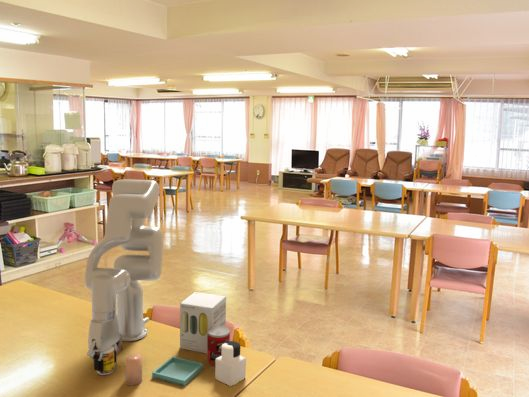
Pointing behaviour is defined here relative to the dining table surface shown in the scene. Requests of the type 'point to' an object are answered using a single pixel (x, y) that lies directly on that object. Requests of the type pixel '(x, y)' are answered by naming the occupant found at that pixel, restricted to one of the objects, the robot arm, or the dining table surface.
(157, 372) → the tray
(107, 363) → the supplement bottle
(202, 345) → the supplement box
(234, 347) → the medicine bottle
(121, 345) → the walnut block
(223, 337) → the canned food
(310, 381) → the dining table surface
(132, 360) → the peach rounded capsule
